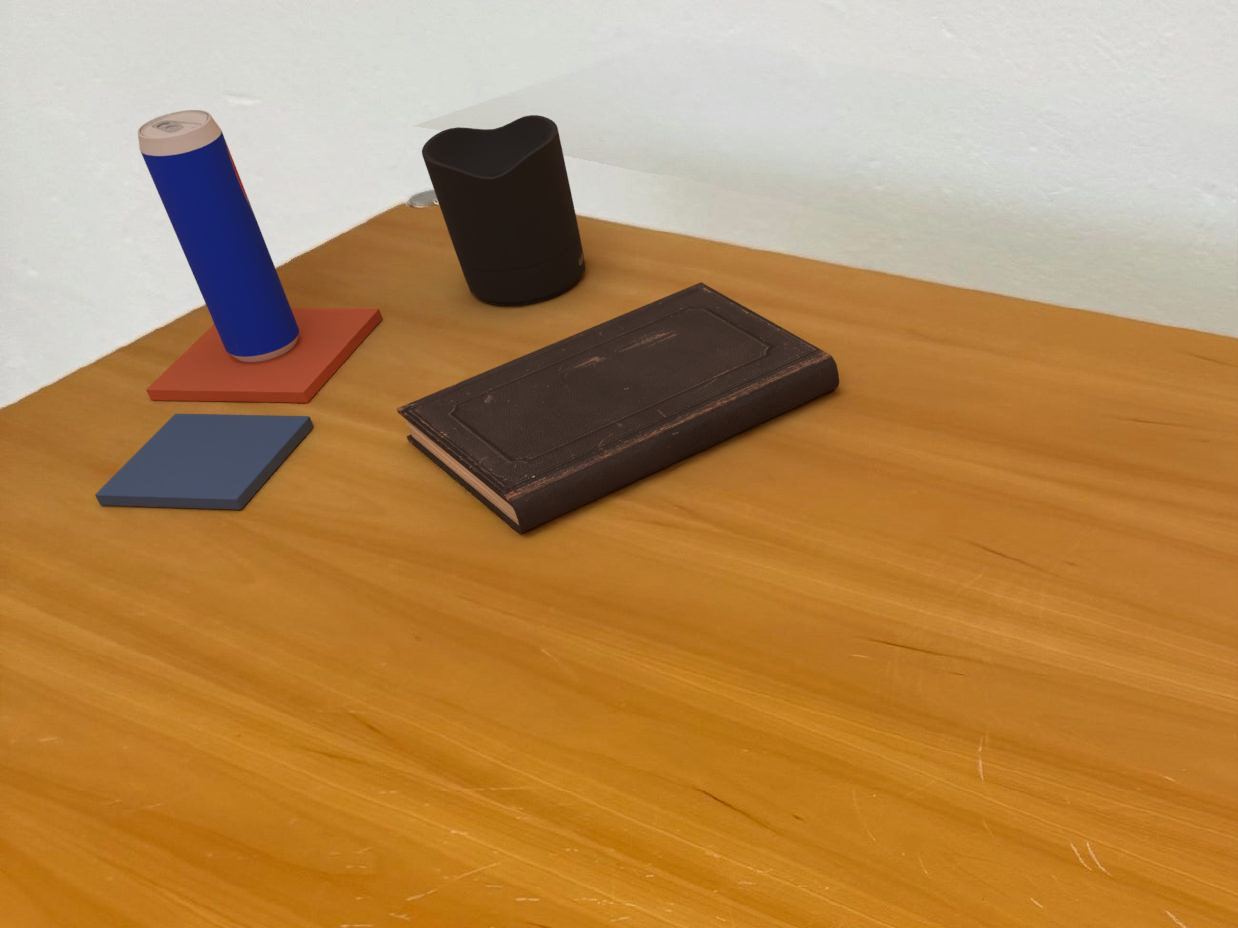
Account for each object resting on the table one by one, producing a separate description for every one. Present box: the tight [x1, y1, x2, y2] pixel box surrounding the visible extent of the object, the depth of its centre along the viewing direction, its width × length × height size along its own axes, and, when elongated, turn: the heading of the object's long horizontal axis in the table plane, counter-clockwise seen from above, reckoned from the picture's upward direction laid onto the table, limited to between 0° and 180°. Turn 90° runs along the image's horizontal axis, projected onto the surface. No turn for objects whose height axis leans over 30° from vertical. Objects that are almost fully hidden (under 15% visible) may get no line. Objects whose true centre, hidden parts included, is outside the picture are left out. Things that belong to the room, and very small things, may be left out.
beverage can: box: [137, 109, 299, 362], centre depth 108 cm, size 5×5×15 cm
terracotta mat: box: [145, 307, 383, 404], centre depth 114 cm, size 12×12×1 cm
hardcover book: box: [396, 281, 840, 534], centre depth 103 cm, size 16×23×2 cm
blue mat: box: [94, 413, 314, 511], centre depth 104 cm, size 10×10×1 cm
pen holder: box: [421, 114, 586, 307], centre depth 115 cm, size 9×9×10 cm
